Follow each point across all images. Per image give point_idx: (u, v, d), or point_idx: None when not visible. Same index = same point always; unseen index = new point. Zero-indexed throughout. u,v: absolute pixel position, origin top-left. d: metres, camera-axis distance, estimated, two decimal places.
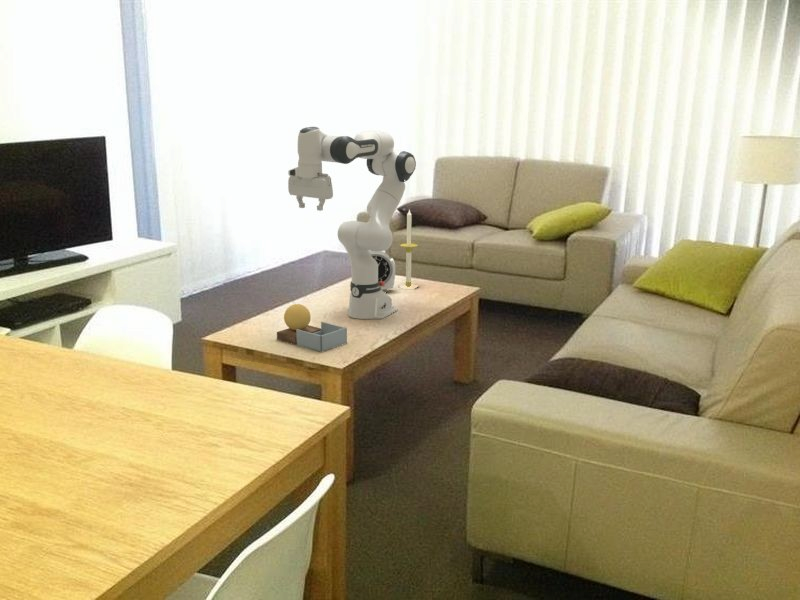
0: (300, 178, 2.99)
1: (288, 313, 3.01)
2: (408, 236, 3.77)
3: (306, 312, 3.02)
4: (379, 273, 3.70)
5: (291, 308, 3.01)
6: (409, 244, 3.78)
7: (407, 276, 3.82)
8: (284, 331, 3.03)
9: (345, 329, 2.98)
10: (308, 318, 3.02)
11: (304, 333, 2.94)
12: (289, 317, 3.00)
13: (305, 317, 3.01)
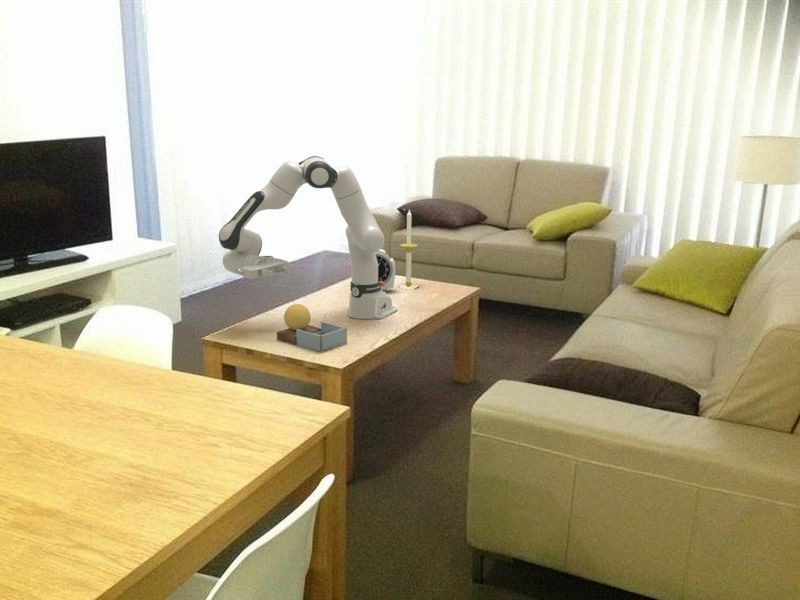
0: None
1: (288, 313, 3.01)
2: (408, 236, 3.77)
3: (306, 312, 3.02)
4: (379, 273, 3.70)
5: (291, 308, 3.01)
6: (409, 244, 3.78)
7: (407, 276, 3.82)
8: (284, 331, 3.03)
9: (345, 329, 2.98)
10: (308, 318, 3.02)
11: (304, 333, 2.94)
12: (289, 317, 3.00)
13: (305, 317, 3.01)
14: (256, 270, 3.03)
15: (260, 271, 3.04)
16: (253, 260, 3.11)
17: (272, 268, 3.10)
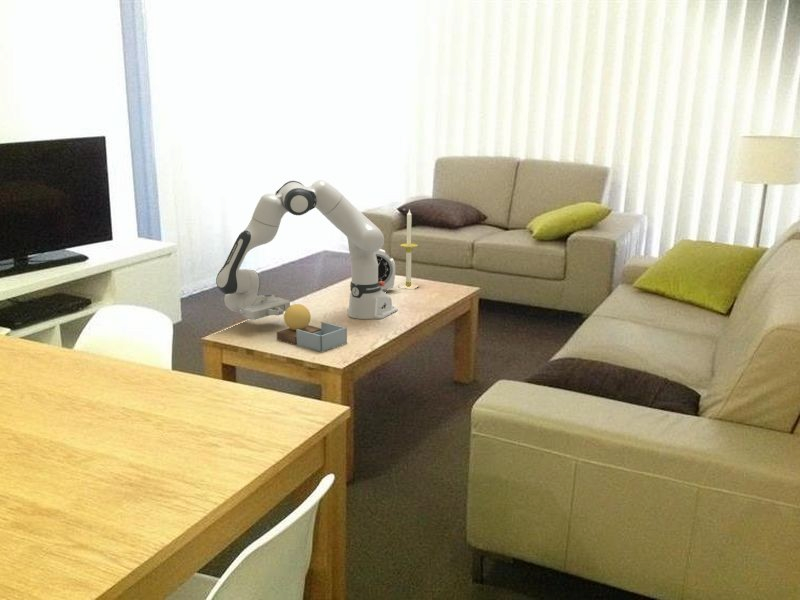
0: None
1: (288, 313, 3.01)
2: (408, 236, 3.77)
3: (306, 312, 3.02)
4: (379, 273, 3.70)
5: (291, 308, 3.01)
6: (409, 244, 3.78)
7: (407, 276, 3.82)
8: (284, 331, 3.03)
9: (345, 329, 2.98)
10: (308, 318, 3.02)
11: (304, 333, 2.94)
12: (289, 317, 3.00)
13: (305, 317, 3.01)
14: (258, 311, 3.07)
15: (267, 310, 3.11)
16: (255, 300, 3.15)
17: None
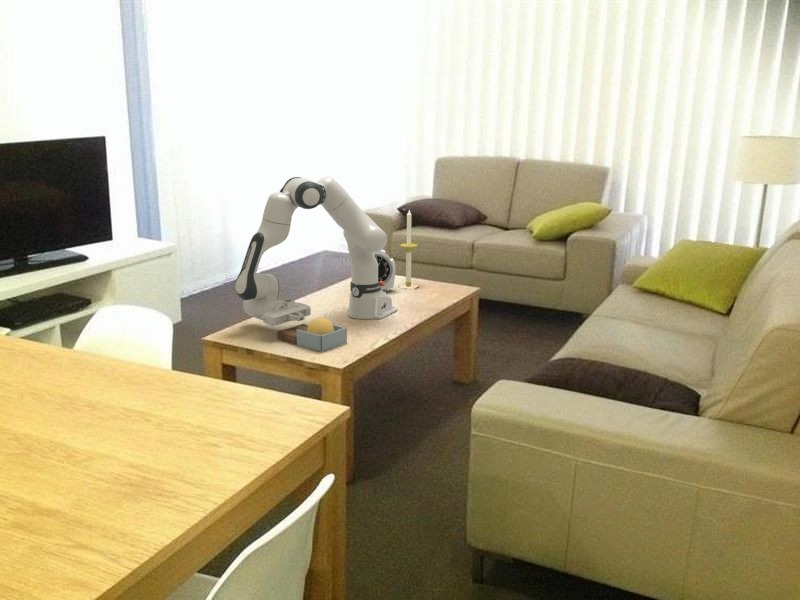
0: None
1: None
2: (408, 236, 3.77)
3: None
4: (379, 273, 3.70)
5: None
6: (409, 244, 3.78)
7: (407, 276, 3.82)
8: (284, 331, 3.03)
9: (345, 329, 2.98)
10: None
11: (304, 333, 2.94)
12: None
13: None
14: (278, 317, 3.00)
15: (288, 316, 3.04)
16: (275, 306, 3.08)
17: None
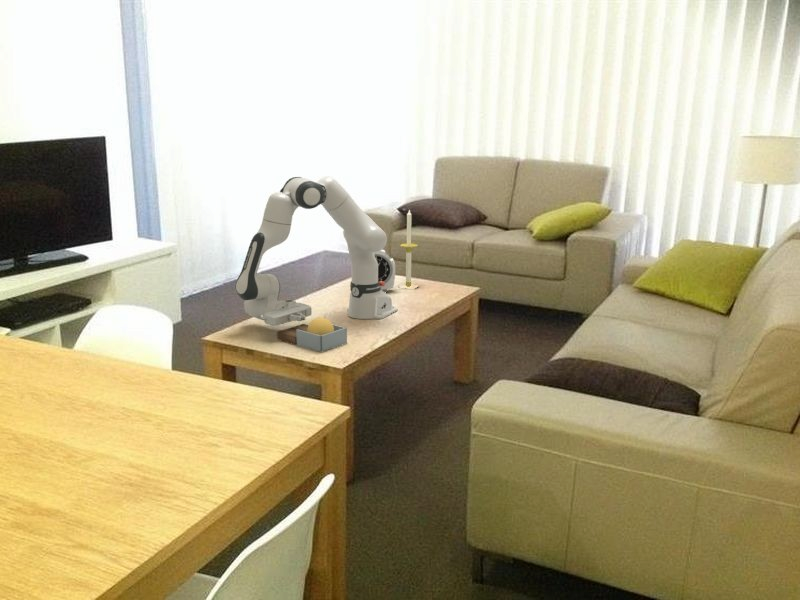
0: None
1: None
2: (408, 236, 3.77)
3: None
4: (379, 273, 3.70)
5: None
6: (409, 244, 3.78)
7: (407, 276, 3.82)
8: (284, 331, 3.03)
9: (345, 329, 2.98)
10: None
11: (304, 333, 2.94)
12: None
13: None
14: (279, 317, 3.00)
15: (289, 316, 3.03)
16: (276, 306, 3.08)
17: None
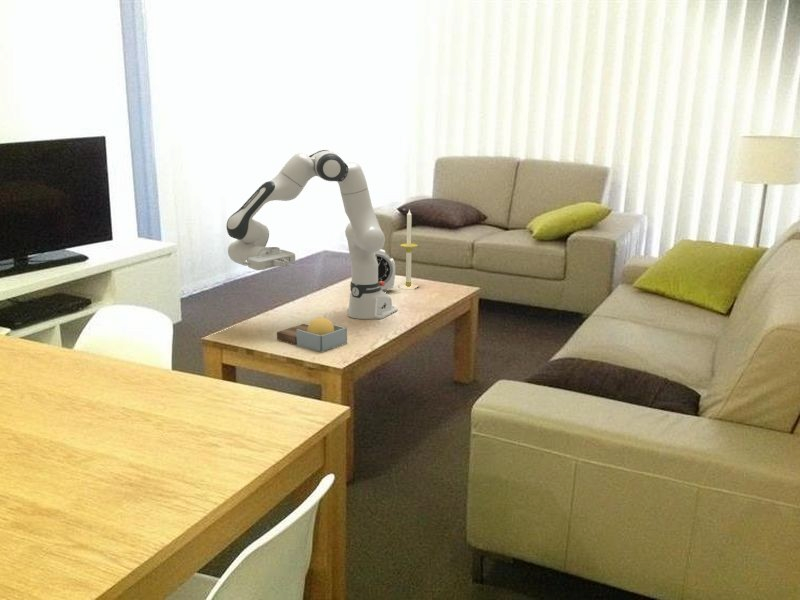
0: None
1: None
2: (408, 236, 3.77)
3: None
4: (379, 273, 3.70)
5: None
6: (409, 244, 3.78)
7: (407, 276, 3.82)
8: (284, 331, 3.03)
9: (345, 329, 2.98)
10: None
11: (304, 333, 2.94)
12: None
13: None
14: (263, 261, 3.00)
15: (273, 261, 3.04)
16: (260, 251, 3.08)
17: None
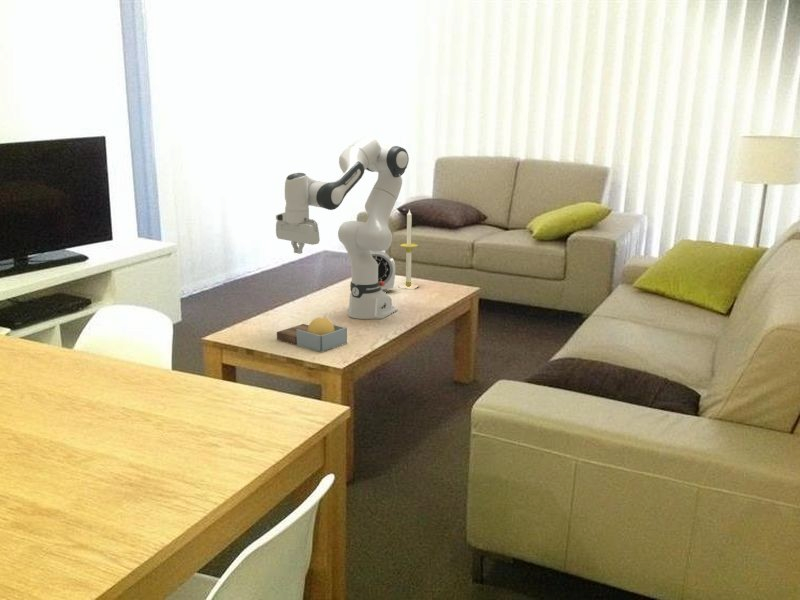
0: (287, 223, 3.03)
1: None
2: (408, 236, 3.77)
3: None
4: (379, 273, 3.70)
5: None
6: (409, 244, 3.78)
7: (407, 276, 3.82)
8: (284, 331, 3.03)
9: (345, 329, 2.98)
10: None
11: (304, 333, 2.94)
12: None
13: None
14: None
15: None
16: None
17: None
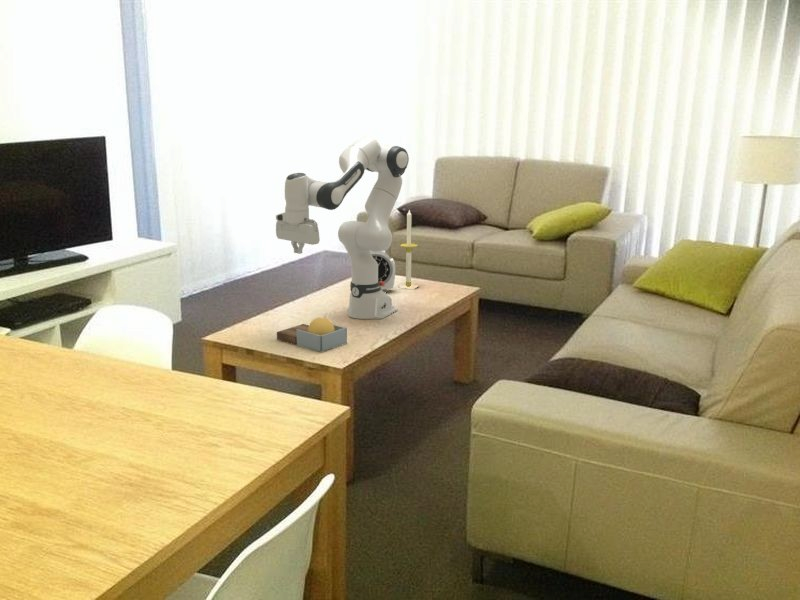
0: (287, 223, 3.03)
1: None
2: (408, 236, 3.77)
3: None
4: (379, 273, 3.70)
5: None
6: (409, 244, 3.78)
7: (407, 276, 3.82)
8: (284, 331, 3.03)
9: (345, 329, 2.98)
10: None
11: (304, 333, 2.94)
12: None
13: None
14: None
15: None
16: None
17: None
